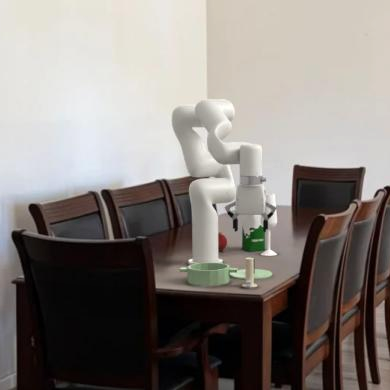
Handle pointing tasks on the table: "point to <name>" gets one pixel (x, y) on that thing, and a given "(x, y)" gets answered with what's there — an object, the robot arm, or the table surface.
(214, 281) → the pot
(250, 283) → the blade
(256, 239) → the milk carton
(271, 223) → the champagne flute
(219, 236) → the onion
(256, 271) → the lid
